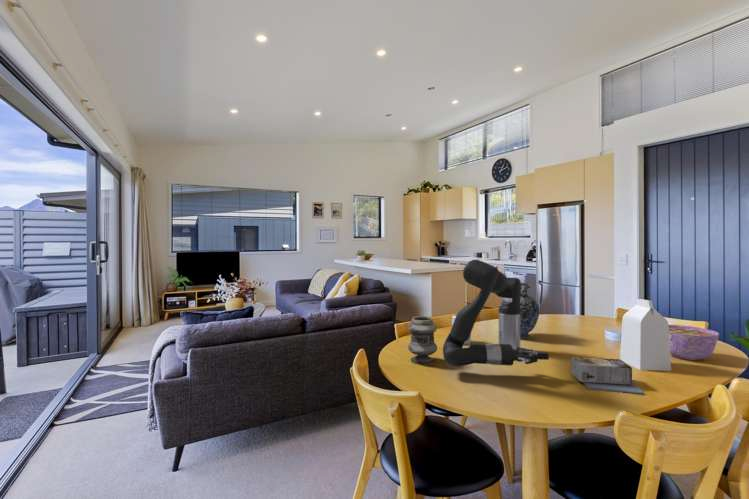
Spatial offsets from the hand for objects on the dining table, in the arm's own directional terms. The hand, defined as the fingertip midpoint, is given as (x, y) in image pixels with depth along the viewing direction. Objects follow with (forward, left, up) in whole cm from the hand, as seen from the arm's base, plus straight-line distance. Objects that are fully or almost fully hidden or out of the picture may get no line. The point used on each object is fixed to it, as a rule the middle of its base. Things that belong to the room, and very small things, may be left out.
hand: (547, 356), depth 130 cm
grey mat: (+19, +1, -8) cm, 21 cm away
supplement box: (-34, +39, -8) cm, 52 cm away
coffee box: (+9, +1, -4) cm, 10 cm away
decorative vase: (-6, +58, -8) cm, 59 cm away
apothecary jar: (-47, +6, -8) cm, 48 cm away
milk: (+38, +26, -8) cm, 47 cm away
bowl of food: (+59, +43, -8) cm, 73 cm away
